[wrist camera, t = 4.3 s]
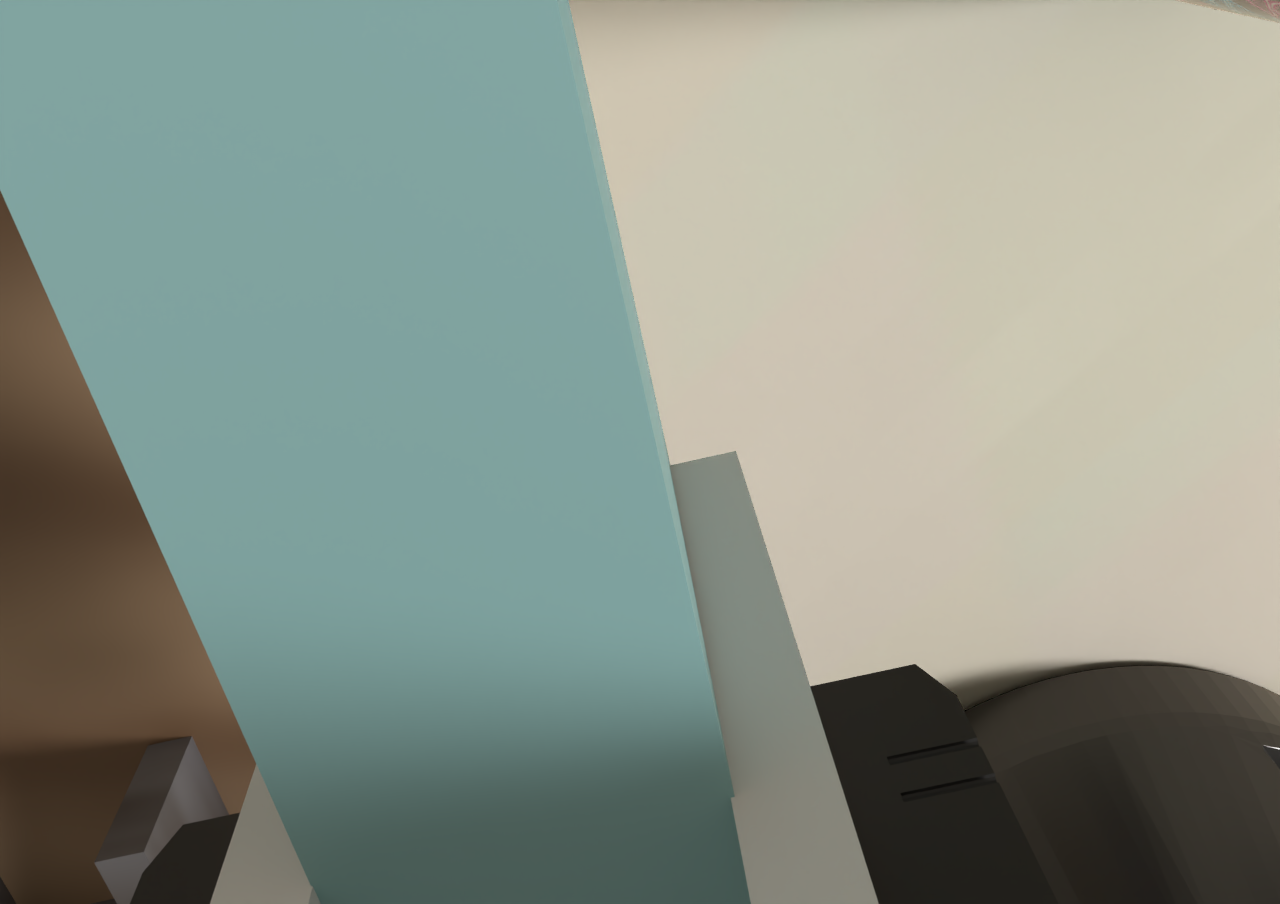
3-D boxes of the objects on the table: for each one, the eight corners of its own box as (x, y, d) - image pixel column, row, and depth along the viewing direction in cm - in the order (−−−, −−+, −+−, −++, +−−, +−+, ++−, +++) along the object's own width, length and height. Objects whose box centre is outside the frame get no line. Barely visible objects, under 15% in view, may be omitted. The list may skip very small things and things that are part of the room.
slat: (793, 1025, 18) (895, 1516, 13) (596, 1065, 18) (616, 1569, 13) (478, -406, 10) (401, -697, 5) (133, -324, 10) (-318, -518, 5)
